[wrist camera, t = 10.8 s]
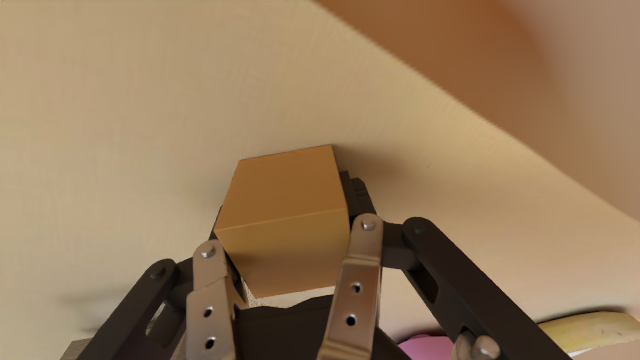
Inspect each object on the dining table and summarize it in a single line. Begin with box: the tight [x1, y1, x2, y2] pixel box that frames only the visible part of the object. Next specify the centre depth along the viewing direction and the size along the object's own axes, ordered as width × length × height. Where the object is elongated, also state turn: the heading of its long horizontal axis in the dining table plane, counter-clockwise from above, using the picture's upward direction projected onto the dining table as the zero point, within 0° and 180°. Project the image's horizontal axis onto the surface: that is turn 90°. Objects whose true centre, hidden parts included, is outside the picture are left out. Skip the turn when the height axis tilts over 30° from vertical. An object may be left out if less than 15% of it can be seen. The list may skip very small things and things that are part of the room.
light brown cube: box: [214, 145, 351, 299], centre depth 12 cm, size 5×5×5 cm
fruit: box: [538, 311, 640, 354], centre depth 29 cm, size 7×15×3 cm, turn 92°
